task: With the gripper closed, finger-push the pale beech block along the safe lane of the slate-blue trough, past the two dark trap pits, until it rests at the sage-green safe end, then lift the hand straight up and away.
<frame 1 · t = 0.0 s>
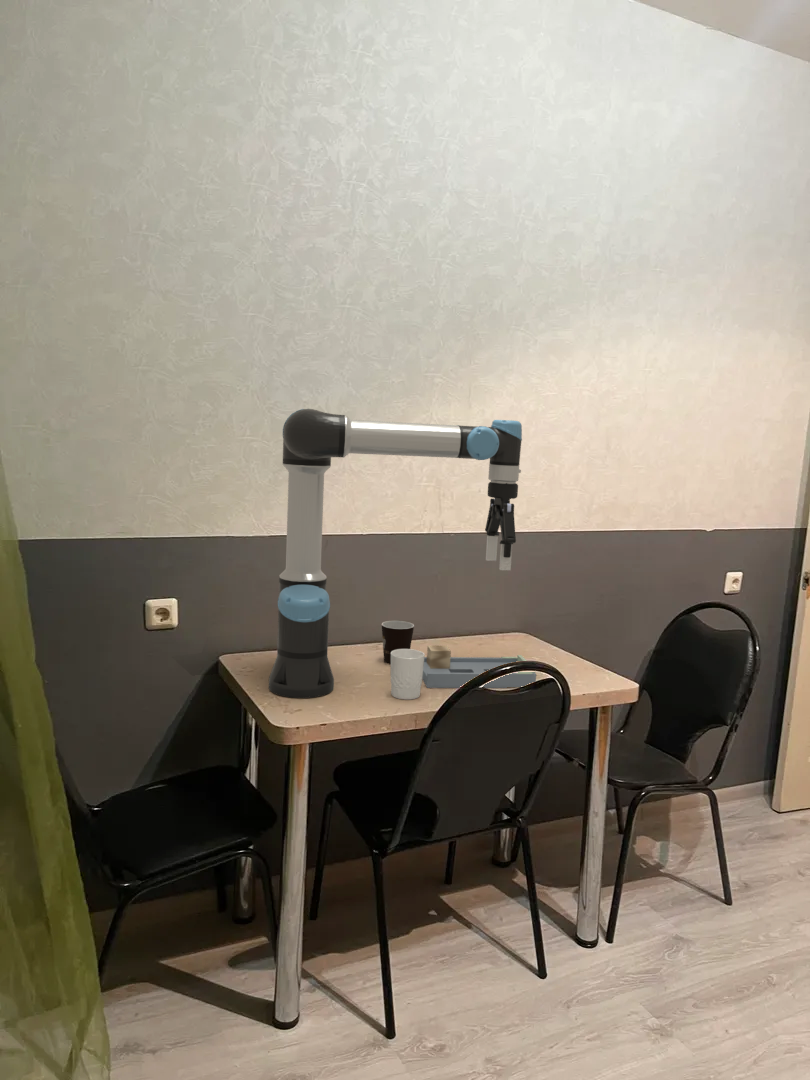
hand: (497, 565, 206), 28 cm above the table, fingers open, 13 cm apart
white cup: (405, 695, 188), on the table
block: (438, 665, 204), point 2 cm above the table, touching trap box
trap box: (474, 678, 203), on the table
coffee mug: (397, 660, 216), on the table
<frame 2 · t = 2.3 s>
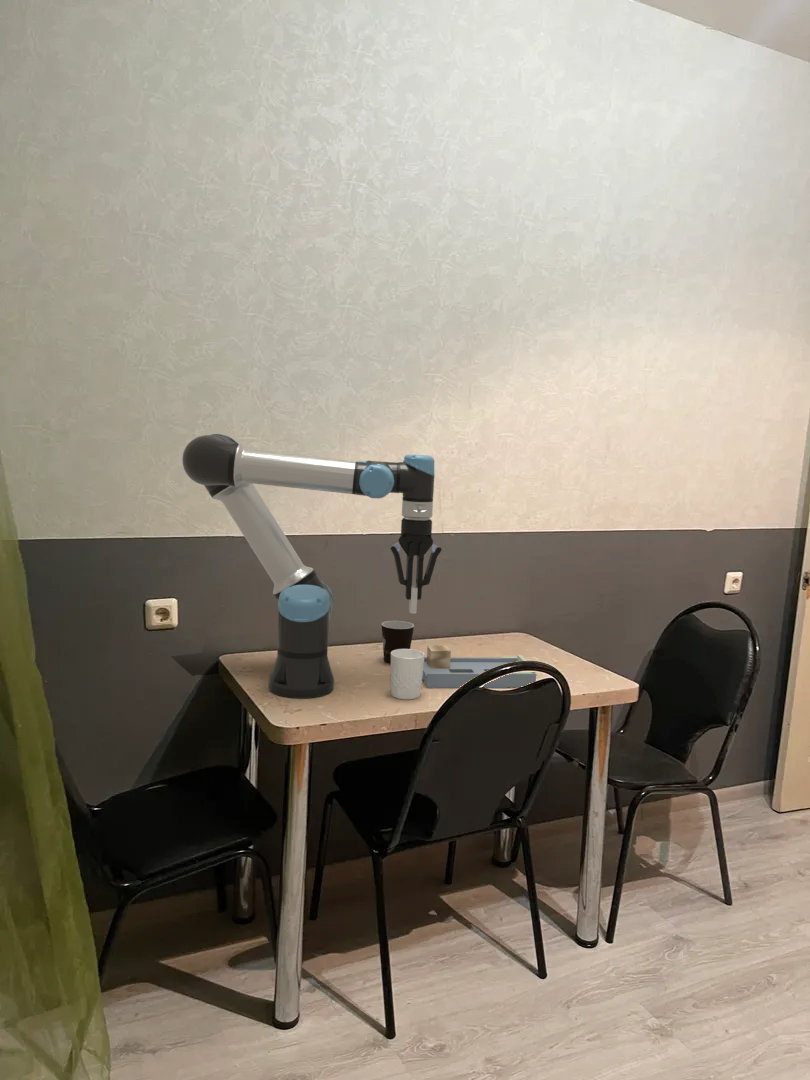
hand: (412, 612, 201), 16 cm above the table, fingers closed
nothing on the table moved.
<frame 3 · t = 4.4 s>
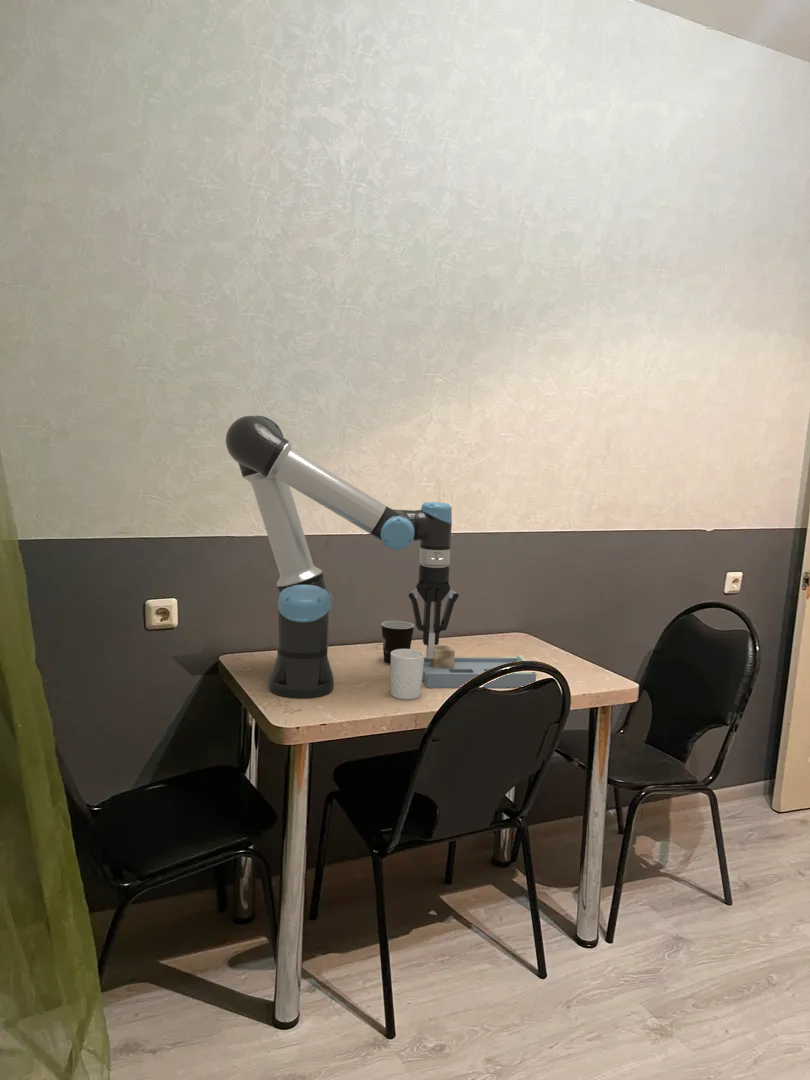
hand: (430, 657, 204), 5 cm above the table, fingers closed
block: (442, 665, 204), point 3 cm above the table, touching gripper
everything else where it was.
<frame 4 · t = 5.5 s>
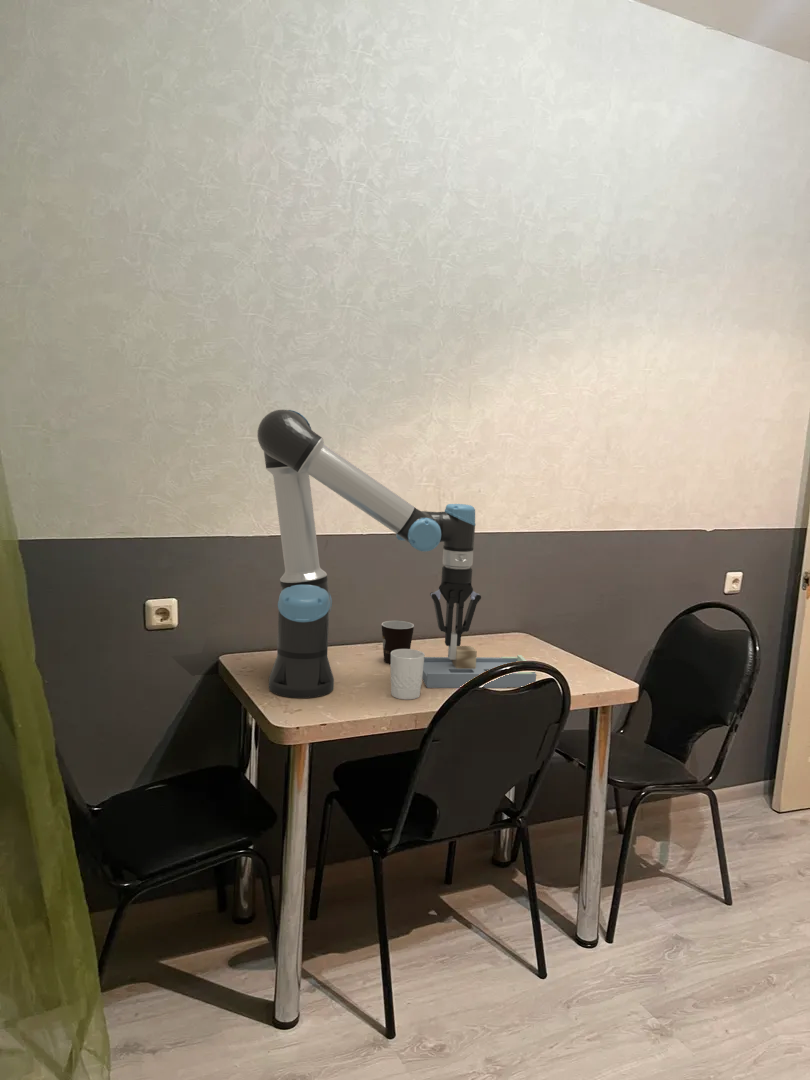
hand: (451, 658, 205), 4 cm above the table, fingers closed
block: (463, 665, 205), point 2 cm above the table, touching gripper, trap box
everything else where it was.
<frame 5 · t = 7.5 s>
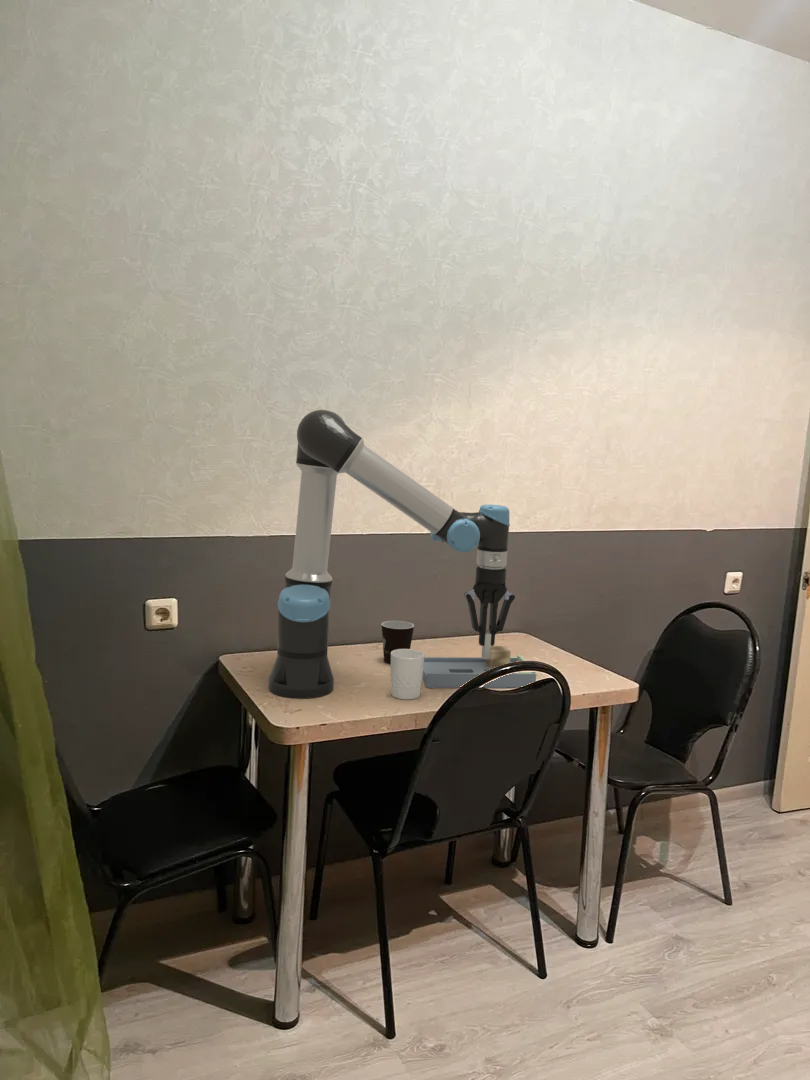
hand: (485, 657, 206), 5 cm above the table, fingers closed
block: (497, 665, 207), point 3 cm above the table, touching gripper
everything else where it was.
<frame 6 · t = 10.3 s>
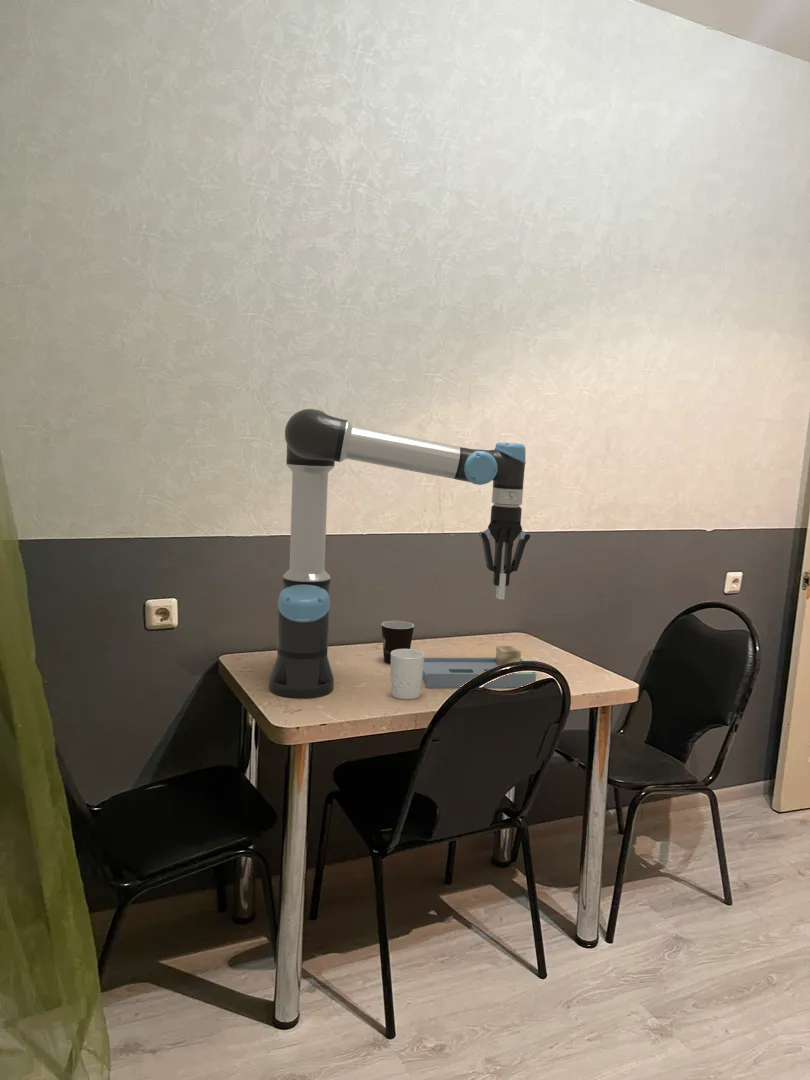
hand: (500, 598, 204), 20 cm above the table, fingers closed
block: (507, 665, 207), point 2 cm above the table, touching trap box
everything else where it was.
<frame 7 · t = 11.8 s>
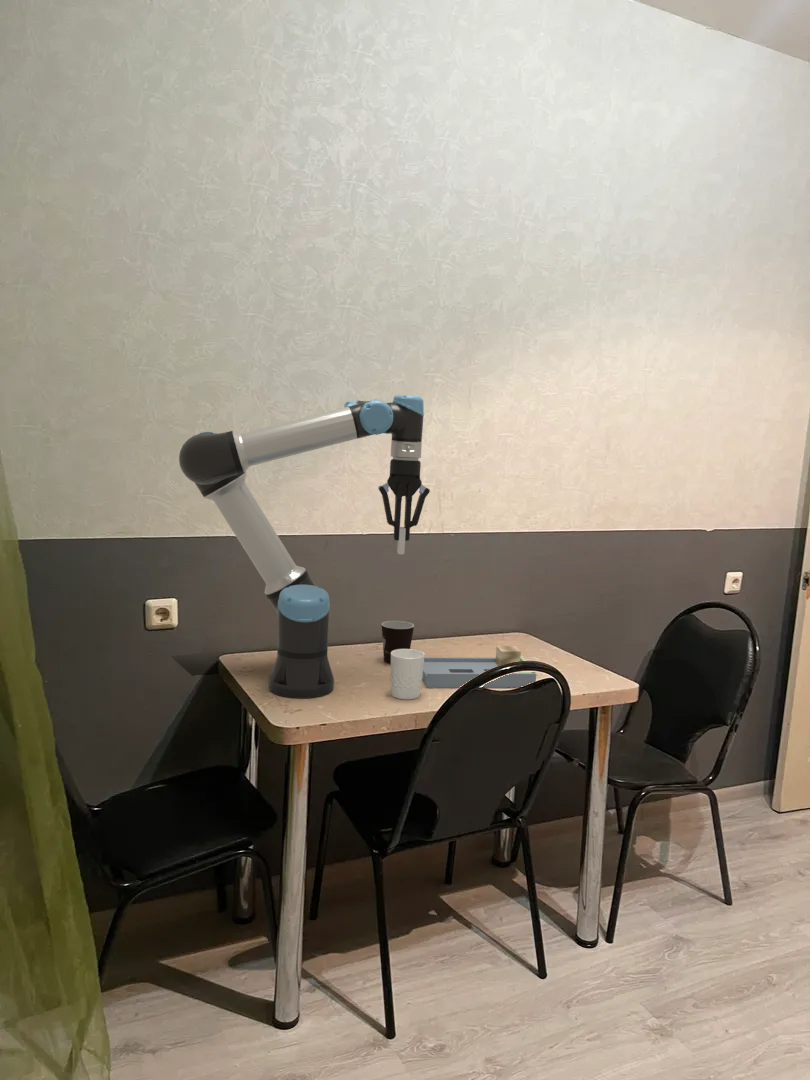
hand: (400, 553, 203), 30 cm above the table, fingers closed
nothing on the table moved.
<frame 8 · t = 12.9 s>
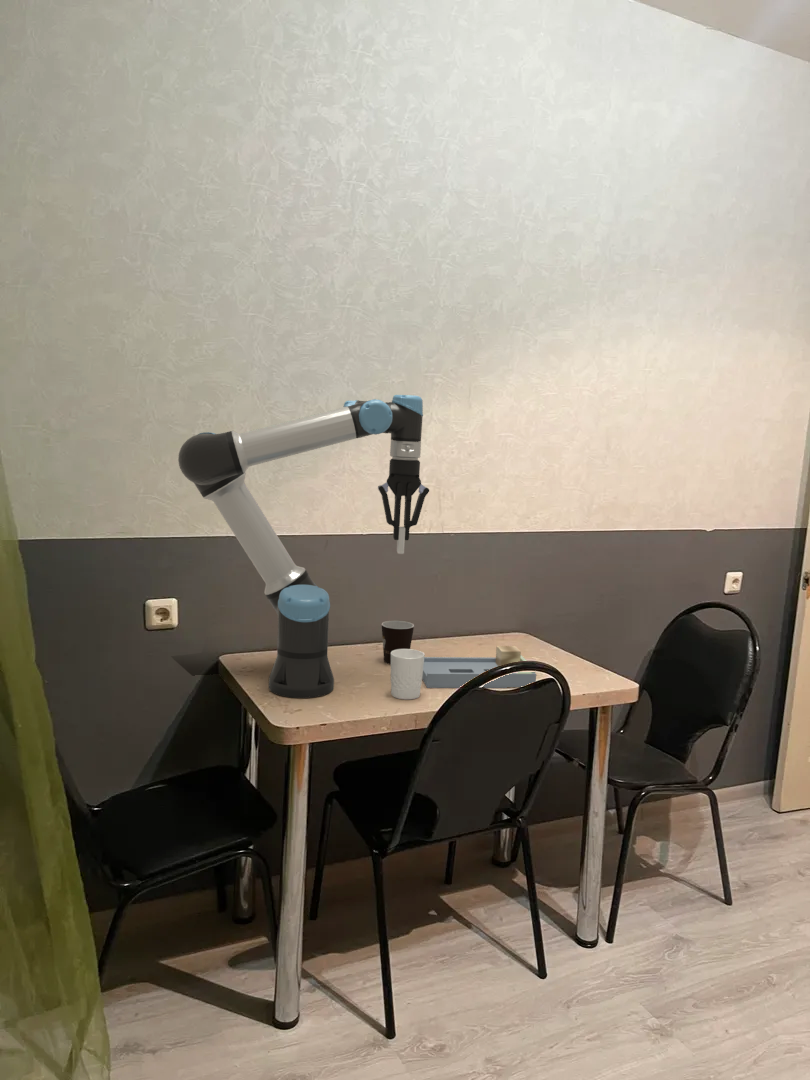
hand: (400, 552, 203), 30 cm above the table, fingers closed
nothing on the table moved.
at the end: block 0.4 cm from the target spot on the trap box, point 2.5 cm above the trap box's base; block tilted 0° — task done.
